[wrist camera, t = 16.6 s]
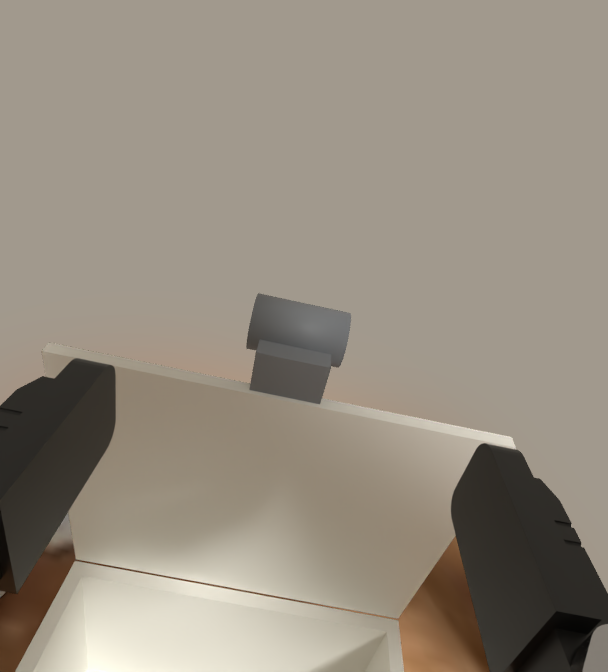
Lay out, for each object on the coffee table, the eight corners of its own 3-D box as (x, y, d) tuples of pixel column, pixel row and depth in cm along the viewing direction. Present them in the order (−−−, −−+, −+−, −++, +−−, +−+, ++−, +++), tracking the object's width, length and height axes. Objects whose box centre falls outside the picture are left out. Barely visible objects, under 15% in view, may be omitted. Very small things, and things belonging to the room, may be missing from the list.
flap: (398, 618, 28) (393, 563, 31) (554, 392, 18) (524, 340, 20) (75, 559, 28) (101, 508, 30) (30, 282, 17) (77, 243, 20)
